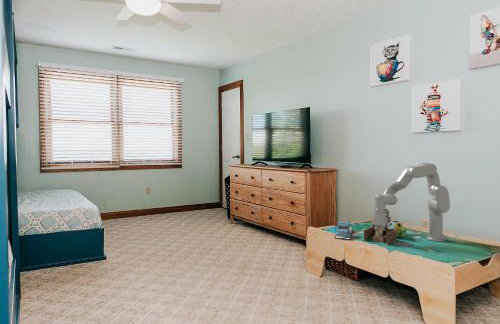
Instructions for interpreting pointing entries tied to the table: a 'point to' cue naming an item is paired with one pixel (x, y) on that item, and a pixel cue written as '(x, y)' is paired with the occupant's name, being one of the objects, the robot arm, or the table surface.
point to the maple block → (379, 231)
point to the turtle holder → (398, 228)
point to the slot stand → (389, 237)
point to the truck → (343, 229)
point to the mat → (402, 244)
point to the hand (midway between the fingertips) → (380, 234)
